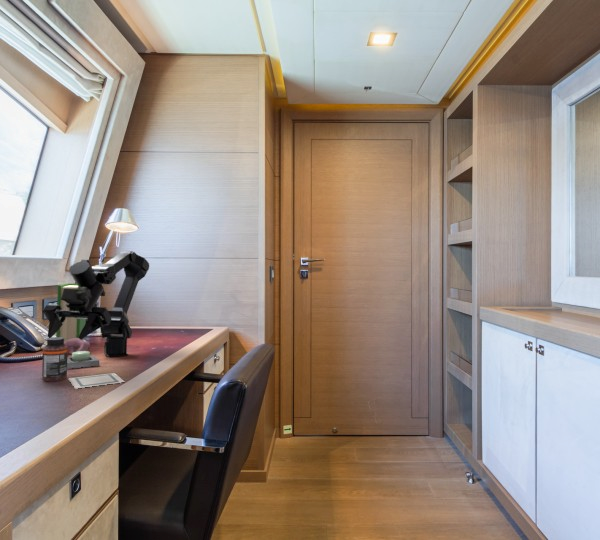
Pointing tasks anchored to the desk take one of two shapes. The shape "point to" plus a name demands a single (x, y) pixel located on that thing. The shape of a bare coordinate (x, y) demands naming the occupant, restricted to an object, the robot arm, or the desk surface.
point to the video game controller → (76, 345)
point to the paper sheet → (95, 380)
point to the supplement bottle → (54, 360)
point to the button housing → (82, 362)
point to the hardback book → (71, 324)
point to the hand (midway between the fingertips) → (64, 337)
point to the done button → (80, 356)
